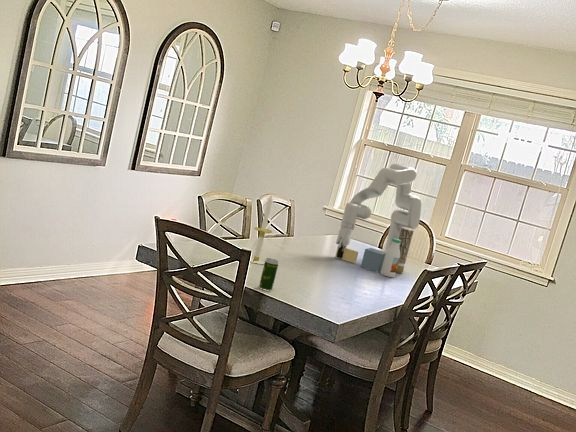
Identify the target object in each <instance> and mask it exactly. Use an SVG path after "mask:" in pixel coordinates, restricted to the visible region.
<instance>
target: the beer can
mask: <svg viewBox="0 0 576 432" xmlns="http://www.w3.org/2000/svg"><path fill="white" fill-rule="evenodd" d="M264 262H265V263H264V265H263V269H262V273H261V276H260V280H259V285H258V287H260V288H262V289H266V290H271V291H272V290H273V287H274V283H275V279H276V275H277V270H278V267H279V260H277V259H275V258H270V257H267V258H265V260H264ZM260 288H259V289H260ZM262 289H261V290H262Z"/></svg>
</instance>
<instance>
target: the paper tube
mask: <svg viewBox="0 0 576 432" xmlns="http://www.w3.org/2000/svg"><path fill="white" fill-rule="evenodd" d="M414 231H415V230H413V229H411V228H407V227H402V228H401V232H400V236H399V240H401V243H400V245H399V249H400V259H399V263H398V267H397V270H396V272H397V273H398V274H402V273H403V272H404V269H405V266H406V262H407V258H408V255H409V251H410V246H411V242H412V238H413V235H414Z"/></svg>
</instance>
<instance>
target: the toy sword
mask: <svg viewBox="0 0 576 432" xmlns="http://www.w3.org/2000/svg"><path fill="white" fill-rule="evenodd" d="M272 203H273V195H272V193H271V194H270V196H269V197H268V198H267V202H266V205H265V206H266V207H265V210H264V214H263V218H262V224H261V226H260V227H259V226H255V227H254V228H253V229H254V230H256V231H257V232H259V234H258V238H257V243H256V247H255V251H254V255H253V258H254V259H253V262H254V261H259V260H260V257H261V253H262V248H263V244H264V240H265V235H266V234H272V233H273V231H272V230H270V229H267V225H268V220H269V217H270V211H271V208H272Z"/></svg>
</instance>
